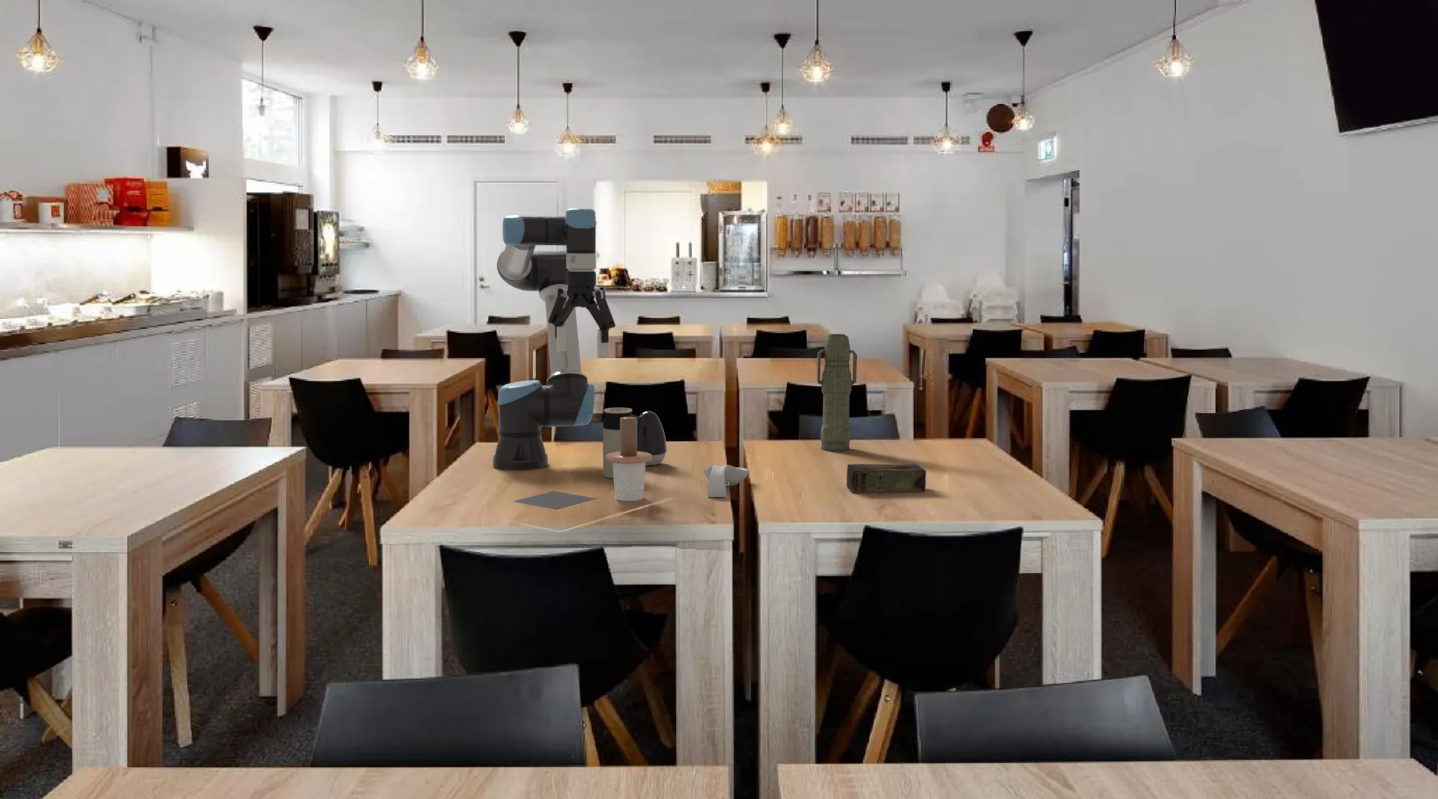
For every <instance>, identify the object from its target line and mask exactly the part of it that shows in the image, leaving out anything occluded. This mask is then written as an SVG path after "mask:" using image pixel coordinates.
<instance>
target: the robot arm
mask: <svg viewBox="0 0 1438 799" xmlns="http://www.w3.org/2000/svg"><path fill="white" fill-rule="evenodd" d="M596 218H597V217H596V211H595V209H593V208H568V209H567V210H566V211H565V215H564V216H563V215H562V216H561V215H560V216H558V215H556V216H554V215H520V214H515V215H507V216H505V217H503V220H502V241H503V242H504V244H505V247H504V250H503V251H502V252H501V253H499V256H498V259H497V262H496V268H497V273H498V275H499V276H500V278H501V279H502V280H503V281H504V282H505V283H506V284H507V285H509V286H511V287H513V288H515V289H517V290H520V291H525V292H538V294H539V298H540V300H542V301H543V302H544V303H545V315H546V328H547V339H548V352H549V360H550V361H549V363H550V376H549V377H548V378H547V379H546V383H545V384H546V385H542V383H541V381H540V380H537V379H533V380H530V379H529V380H521V381H514V382H511V383H506V384H504V385H502V386H501V387H500V388H499V389H498V394H497V396H498V399H497V406H498V441H497V444H496V448H495V452H494V453H495V454H494V455H493V457H492V467H494V468H496V469H501V470H511V471H515V470H517V471H518V470H520V471H523V470H524V471H525V470H532V469H533V470H534V469H535V470H536V469H539V468H540V469H541V468H543V467H546V466H547V465H549V457H548V456H549V455H548V454H547V453H546V448H545V446H544V441H543V439H542V428H551V427H553V428H554V427H555V428H557V427H580V426H587V425H588V424H590V423H591V421H592V419H593V414H594V408H595V397H596V392H595V389H596V388H595V385H594V384H593V383H589V382H588V381H589V380H588V377H587V375H585V374H584V373H583V372H582V365H581V364H582V363H581V354H580V344H579V334H578V333H579V331H578V322H577V312H576V308H585V309H586V310H587V311H588V312H589V314H590V315H591V317H592V318H593V320H594V321H595V323H596V325H597V326H598V328H599V329H598V330H596V331H597V357H603V356H604V357H605V356H607V354H608V352H607V345H608V343H609V336H610V335H609V334H610V333H609V331H610V329H613V328H615V327H616V323H615V320H614V318H613V315H612V313H611V310H610V306H609V305H608V302H607V298H606V291H605V290H595V287H596V285H597V273H596V271H594V270H596V268H597V252H596V251H597V249H596V246H597V245H596V241H597V240H596V239H597V237H596V235H597V230H596V228H597V221H596ZM537 246H563V247H564V246H565V251H564V250H559V251H556V250H555V251H553V250H552V251H551V250H550V251H546V250H545V251H542V250H541V251H539V250H537V251H536V250H535V249H536V247H537Z"/></svg>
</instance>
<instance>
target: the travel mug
mask: <svg viewBox="0 0 1438 799" xmlns="http://www.w3.org/2000/svg"><path fill="white" fill-rule="evenodd" d="M632 412H633V409H632V408H628V407H608V408H604V409H603V413H604V416H605V417H604V419H603V421H602V465H603V466H602V467H603V468H602V469H603V470H602V474H603V477H604V478H607V479H611V480H614V478H613V463H612V462H608V461H606V454H609V453H613V452H620V418H622V417H630V416H631V415H632Z"/></svg>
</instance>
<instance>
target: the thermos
mask: <svg viewBox="0 0 1438 799" xmlns="http://www.w3.org/2000/svg"><path fill="white" fill-rule="evenodd" d="M822 354H824V366H823V367H824V368H823V370H822V371H823V372H822V373H821V357H822V356H821V355H822ZM851 354H852V356H853V357H852V358H853V361H852V372H851V366H850V361H851ZM816 358H817V360H816V373H817V374H816V382H817V384H819V385H821V393H822V395H823V397H822V402H823V403H822V425H821V429H820V441H821V447H820V449H821V450H822V451H825V452H837V453H838V452H847V451H850V443H851V428H850V395H851V392H852V386H853V385H854V384H856V383H857V368H858V367H857V366H858V364H857V363H858V354H857V353H856V352H855V350H854V349H853V350H852V349H851V344H850V339H849V336H848V335H846V334H844V333H831V334H829V335H827V337H826V339H825V343H824V348H822V349H820V350H819V352H817V357H816Z"/></svg>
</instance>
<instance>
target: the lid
mask: <svg viewBox="0 0 1438 799" xmlns="http://www.w3.org/2000/svg"><path fill="white" fill-rule="evenodd" d="M651 460H652V455H651V454H650V453H646V452H639V451H637V418H636V417H622V418H620V452H613V453H609V454H606V461H608V462H612V463H620V464H635V463H644V462H648V461H651Z"/></svg>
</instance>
